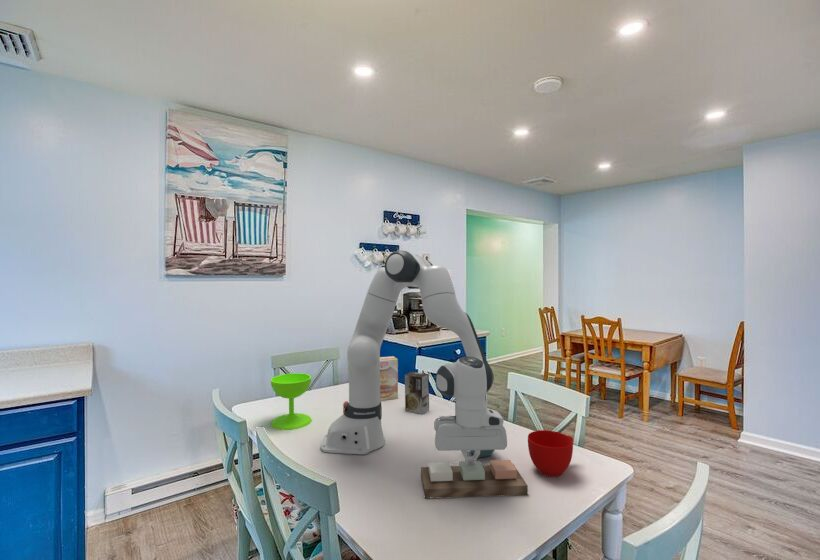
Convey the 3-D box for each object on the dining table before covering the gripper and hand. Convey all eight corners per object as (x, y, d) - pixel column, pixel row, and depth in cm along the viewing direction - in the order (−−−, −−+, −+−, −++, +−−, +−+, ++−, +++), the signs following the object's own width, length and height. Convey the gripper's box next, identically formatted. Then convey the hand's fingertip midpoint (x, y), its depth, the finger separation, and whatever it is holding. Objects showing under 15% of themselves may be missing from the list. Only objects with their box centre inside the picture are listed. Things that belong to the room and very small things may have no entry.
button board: (424, 498, 106) (424, 489, 106) (421, 475, 118) (421, 467, 117) (527, 494, 107) (527, 485, 107) (513, 472, 119) (513, 464, 119)
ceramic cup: (590, 471, 120) (590, 438, 120) (554, 487, 111) (554, 451, 111) (554, 454, 131) (554, 424, 131) (518, 468, 122) (518, 435, 122)
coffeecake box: (368, 402, 185) (368, 361, 184) (364, 398, 191) (364, 358, 191) (398, 398, 190) (398, 358, 190) (393, 394, 197) (393, 355, 196)
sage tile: (463, 489, 109) (463, 471, 109) (459, 478, 115) (459, 461, 115) (484, 488, 109) (484, 471, 109) (479, 477, 115) (479, 460, 115)
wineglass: (291, 432, 150) (291, 385, 150) (262, 425, 157) (261, 380, 157) (320, 419, 164) (319, 375, 164) (291, 412, 172) (291, 371, 171)
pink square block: (495, 488, 110) (495, 470, 110) (489, 477, 116) (489, 460, 116) (516, 487, 110) (516, 469, 110) (510, 476, 116) (510, 459, 116)
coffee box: (429, 410, 174) (429, 373, 174) (422, 414, 168) (422, 377, 168) (412, 406, 179) (412, 371, 179) (404, 410, 173) (404, 374, 173)
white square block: (431, 490, 109) (430, 472, 109) (428, 479, 115) (428, 462, 115) (452, 489, 109) (452, 472, 109) (449, 478, 115) (449, 461, 115)
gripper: (435, 420, 108) (435, 470, 108) (509, 419, 109) (508, 469, 109) (433, 412, 115) (432, 459, 115) (502, 411, 115) (502, 458, 116)
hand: (470, 464), depth 112 cm, fingers closed
